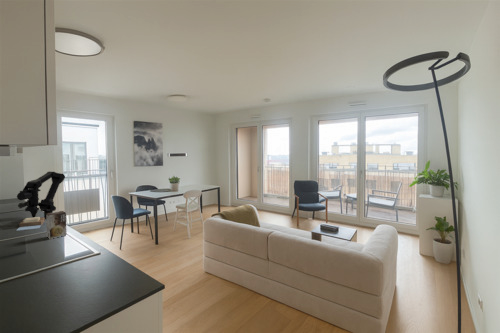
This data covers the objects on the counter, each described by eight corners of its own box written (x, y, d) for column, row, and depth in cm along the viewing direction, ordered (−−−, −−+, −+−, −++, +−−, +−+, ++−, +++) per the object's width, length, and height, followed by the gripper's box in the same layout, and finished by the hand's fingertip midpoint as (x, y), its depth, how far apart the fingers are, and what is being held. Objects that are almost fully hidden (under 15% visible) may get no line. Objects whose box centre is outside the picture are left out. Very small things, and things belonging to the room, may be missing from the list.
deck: (24, 222, 182) (24, 219, 182) (44, 221, 188) (44, 217, 188) (19, 227, 171) (19, 223, 171) (41, 225, 177) (41, 221, 177)
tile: (25, 220, 178) (25, 218, 178) (39, 219, 182) (39, 216, 182) (23, 222, 173) (23, 220, 173) (38, 221, 177) (37, 218, 177)
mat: (19, 227, 171) (19, 227, 171) (41, 225, 177) (41, 225, 177) (16, 231, 164) (16, 230, 164) (38, 228, 171) (38, 228, 171)
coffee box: (63, 233, 162) (62, 210, 161) (66, 235, 159) (66, 212, 158) (46, 237, 155) (45, 213, 154) (49, 239, 151) (49, 214, 150)
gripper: (22, 196, 185) (22, 216, 186) (15, 200, 170) (15, 222, 170) (41, 195, 191) (41, 214, 192) (35, 199, 176) (36, 220, 176)
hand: (33, 217), depth 183 cm, fingers closed
